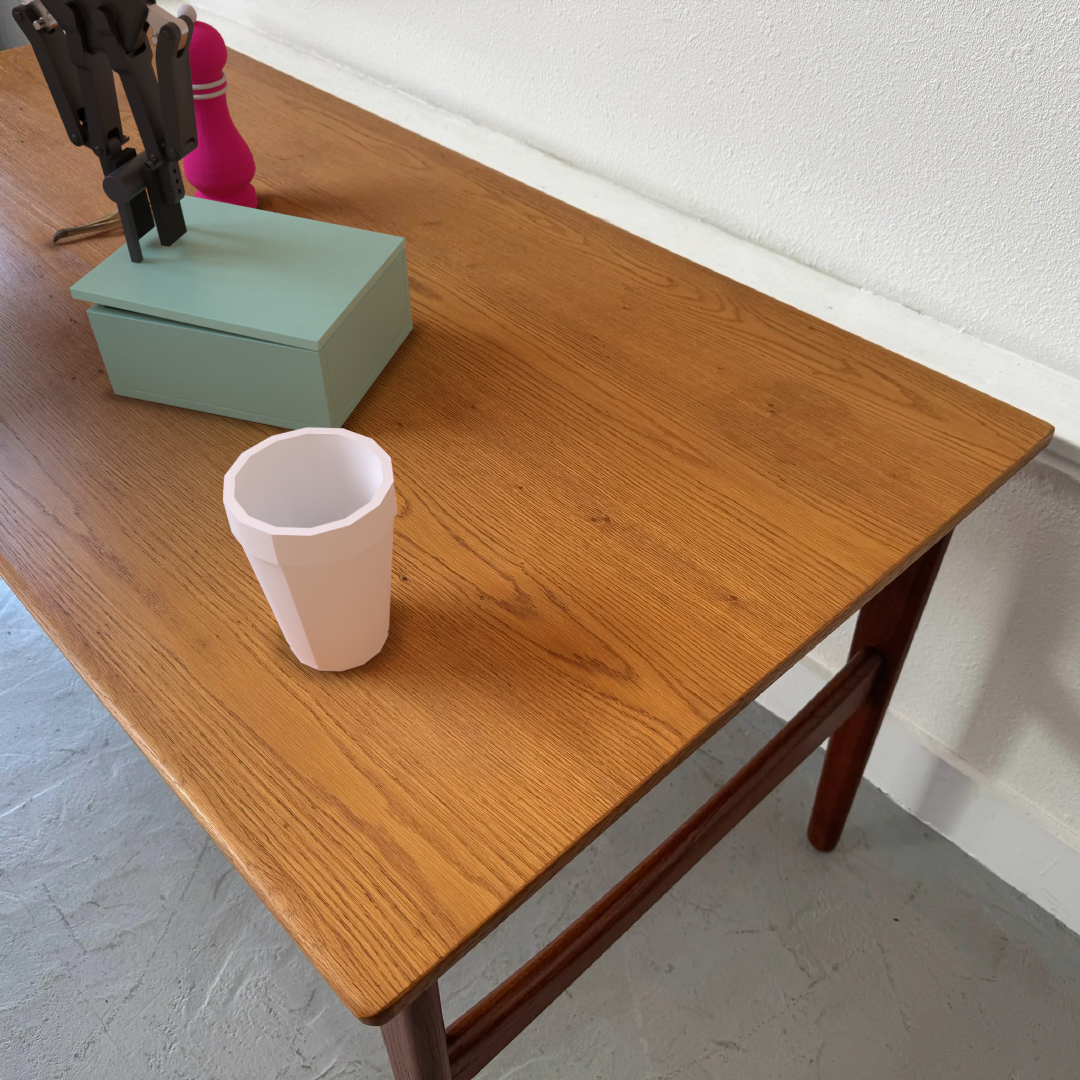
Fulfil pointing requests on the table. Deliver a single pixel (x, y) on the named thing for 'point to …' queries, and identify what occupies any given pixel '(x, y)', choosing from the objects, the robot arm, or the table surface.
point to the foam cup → (319, 539)
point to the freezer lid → (239, 268)
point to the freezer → (257, 361)
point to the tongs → (91, 226)
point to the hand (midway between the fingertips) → (158, 235)
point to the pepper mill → (215, 125)
